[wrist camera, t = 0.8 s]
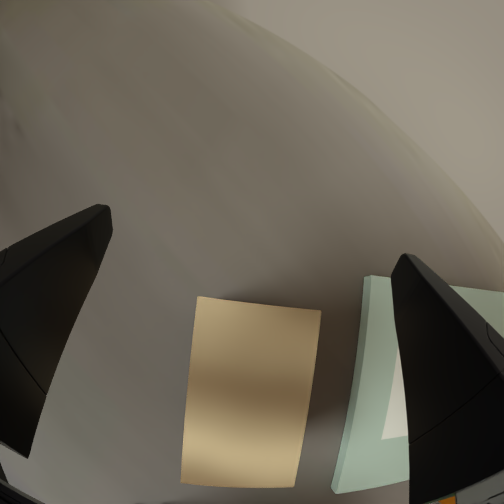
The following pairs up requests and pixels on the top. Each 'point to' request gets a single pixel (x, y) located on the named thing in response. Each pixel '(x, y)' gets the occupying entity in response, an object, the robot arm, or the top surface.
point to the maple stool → (248, 393)
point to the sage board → (386, 391)
